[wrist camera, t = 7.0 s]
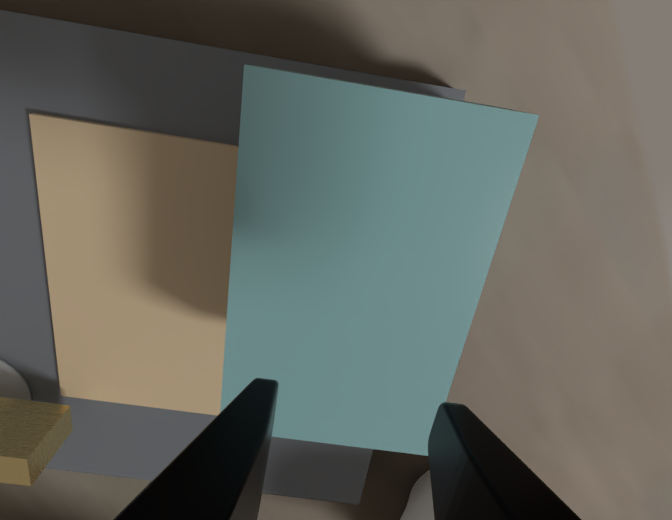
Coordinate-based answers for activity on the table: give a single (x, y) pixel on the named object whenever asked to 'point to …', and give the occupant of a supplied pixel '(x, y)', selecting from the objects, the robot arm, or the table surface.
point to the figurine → (420, 500)
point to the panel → (132, 244)
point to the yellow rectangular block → (30, 437)
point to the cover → (361, 250)
